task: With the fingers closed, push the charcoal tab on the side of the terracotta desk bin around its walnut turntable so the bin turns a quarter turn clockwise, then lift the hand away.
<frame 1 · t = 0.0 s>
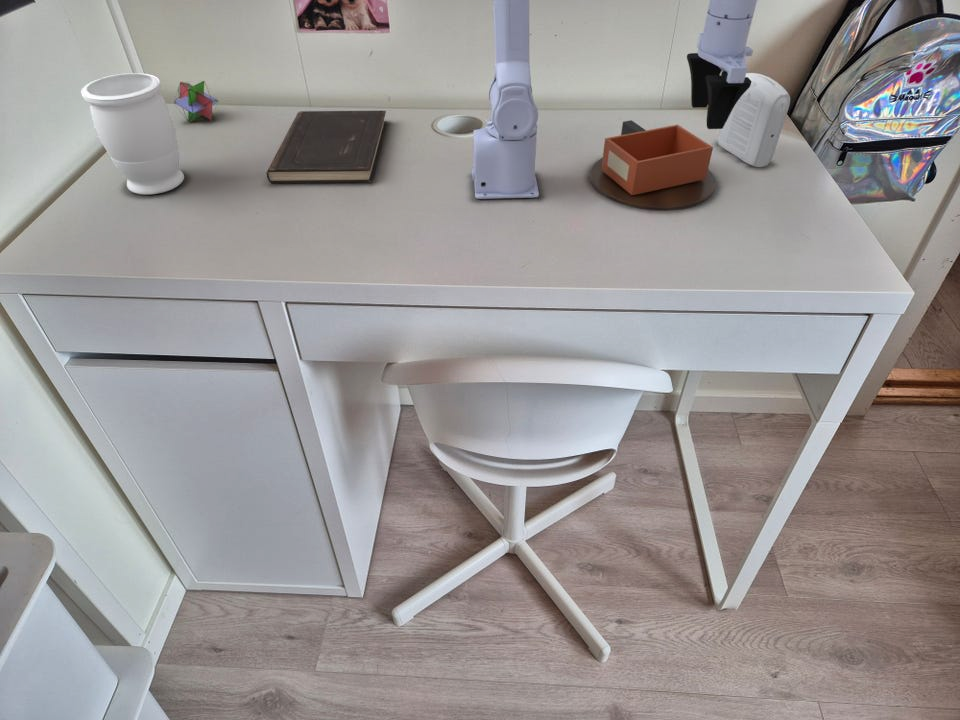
hand: (706, 117, 94), 10 cm above the table, tool pointing down, fingers open, 7 cm apart
jar: (157, 184, 102), on the table
bin: (647, 153, 100), point 3 cm above the table, hinge at 0.0°
geometric puzzle: (201, 120, 120), on the table
turntable: (651, 179, 101), on the table
hardcover book: (332, 152, 110), on the table
photo printer: (742, 155, 108), on the table
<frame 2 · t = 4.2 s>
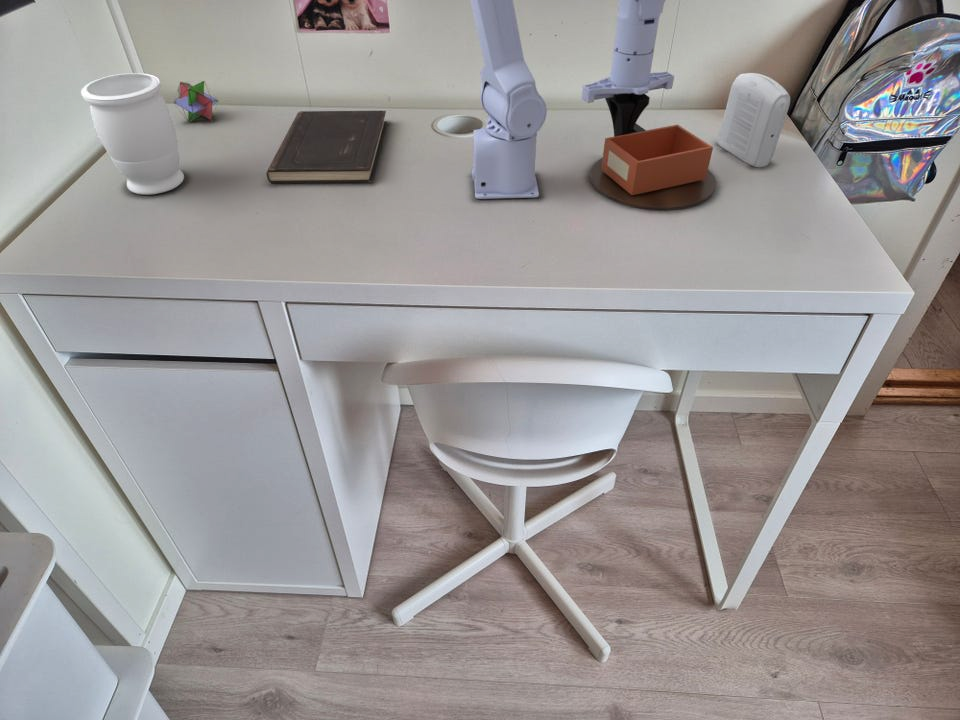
hand: (620, 140, 103), 4 cm above the table, tool pointing down, fingers closed
bin: (647, 153, 100), point 3 cm above the table, hinge at 0.0°, touching gripper
everything else where it was.
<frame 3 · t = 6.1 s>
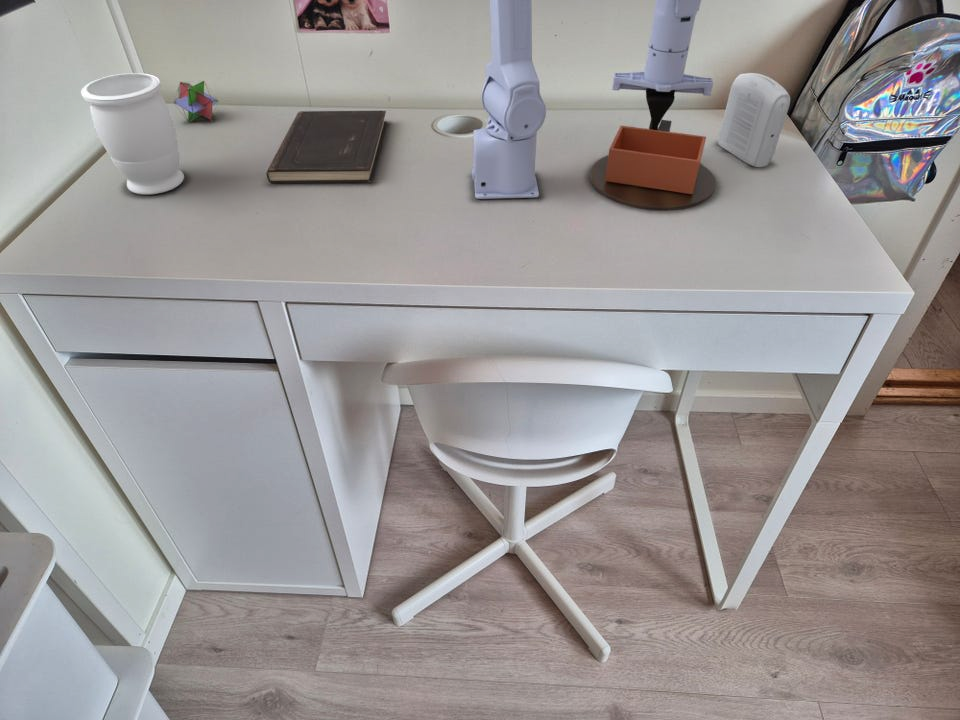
hand: (652, 137, 104), 4 cm above the table, tool pointing down, fingers closed, pressing on bin
bin: (657, 152, 100), point 3 cm above the table, hinge at -41.8°, touching gripper
everything else where it was.
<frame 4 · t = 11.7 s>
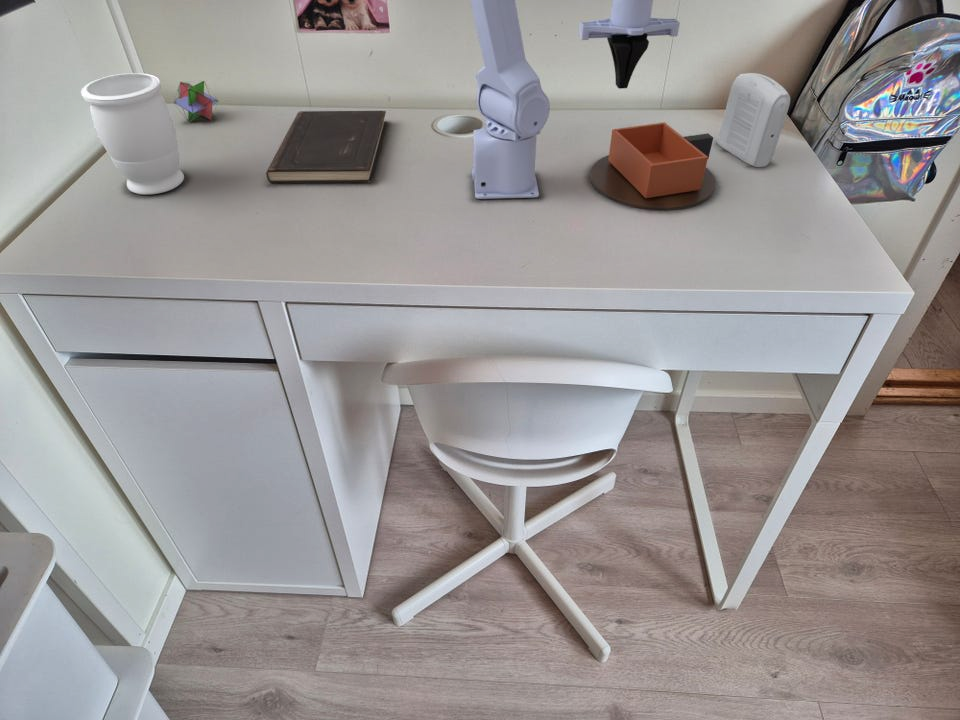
hand: (621, 86, 102), 10 cm above the table, tool pointing down, fingers closed
bin: (668, 156, 99), point 3 cm above the table, hinge at -95.8°
everything else where it was.
at the end: bin at -96° (first picture: +0°); the gripper is holding nothing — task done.
